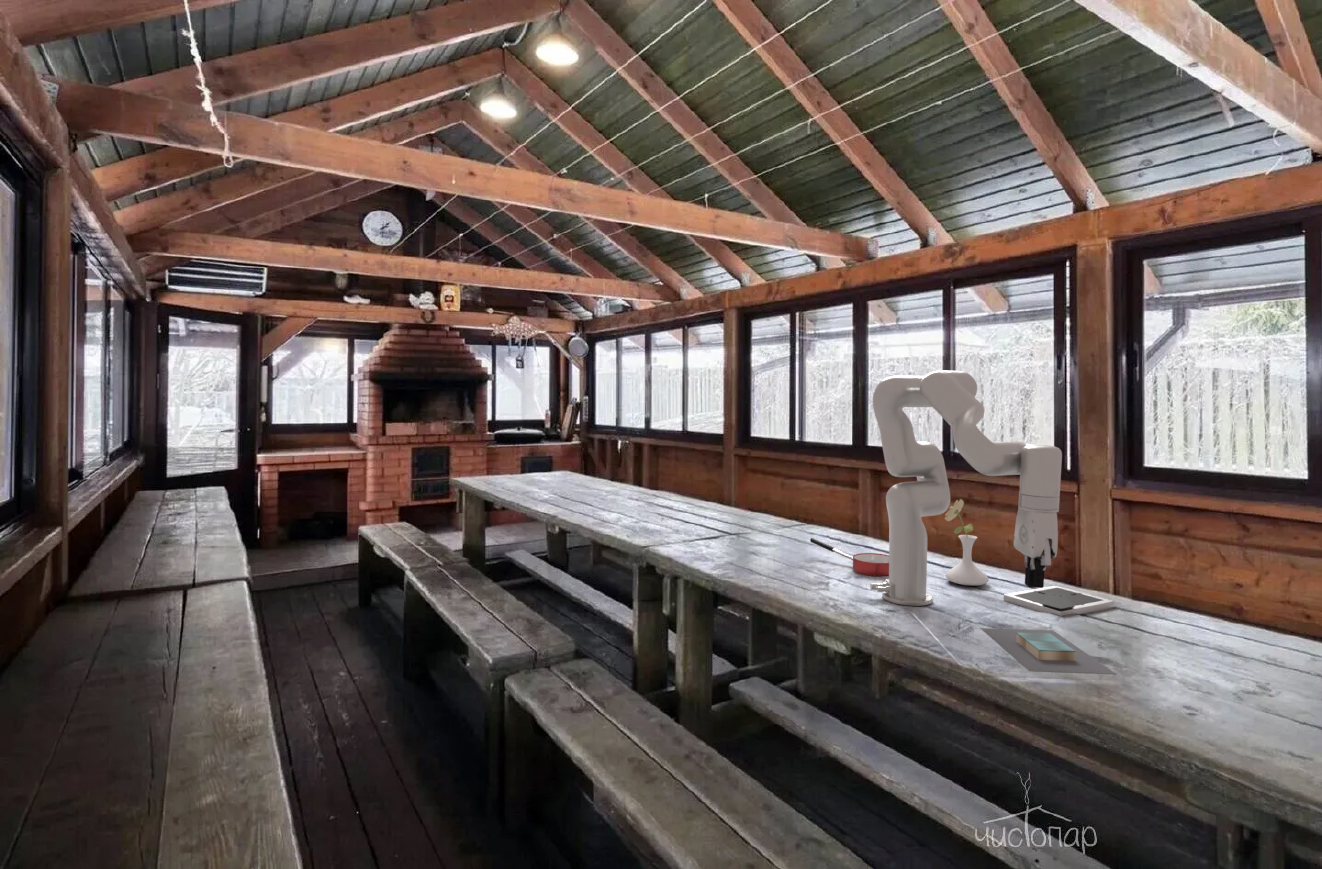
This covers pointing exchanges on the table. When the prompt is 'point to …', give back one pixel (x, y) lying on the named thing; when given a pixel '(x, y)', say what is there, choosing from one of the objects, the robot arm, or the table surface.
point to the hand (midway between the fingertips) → (1033, 586)
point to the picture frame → (1058, 600)
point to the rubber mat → (1029, 661)
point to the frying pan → (863, 561)
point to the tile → (1045, 646)
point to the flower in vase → (964, 553)
